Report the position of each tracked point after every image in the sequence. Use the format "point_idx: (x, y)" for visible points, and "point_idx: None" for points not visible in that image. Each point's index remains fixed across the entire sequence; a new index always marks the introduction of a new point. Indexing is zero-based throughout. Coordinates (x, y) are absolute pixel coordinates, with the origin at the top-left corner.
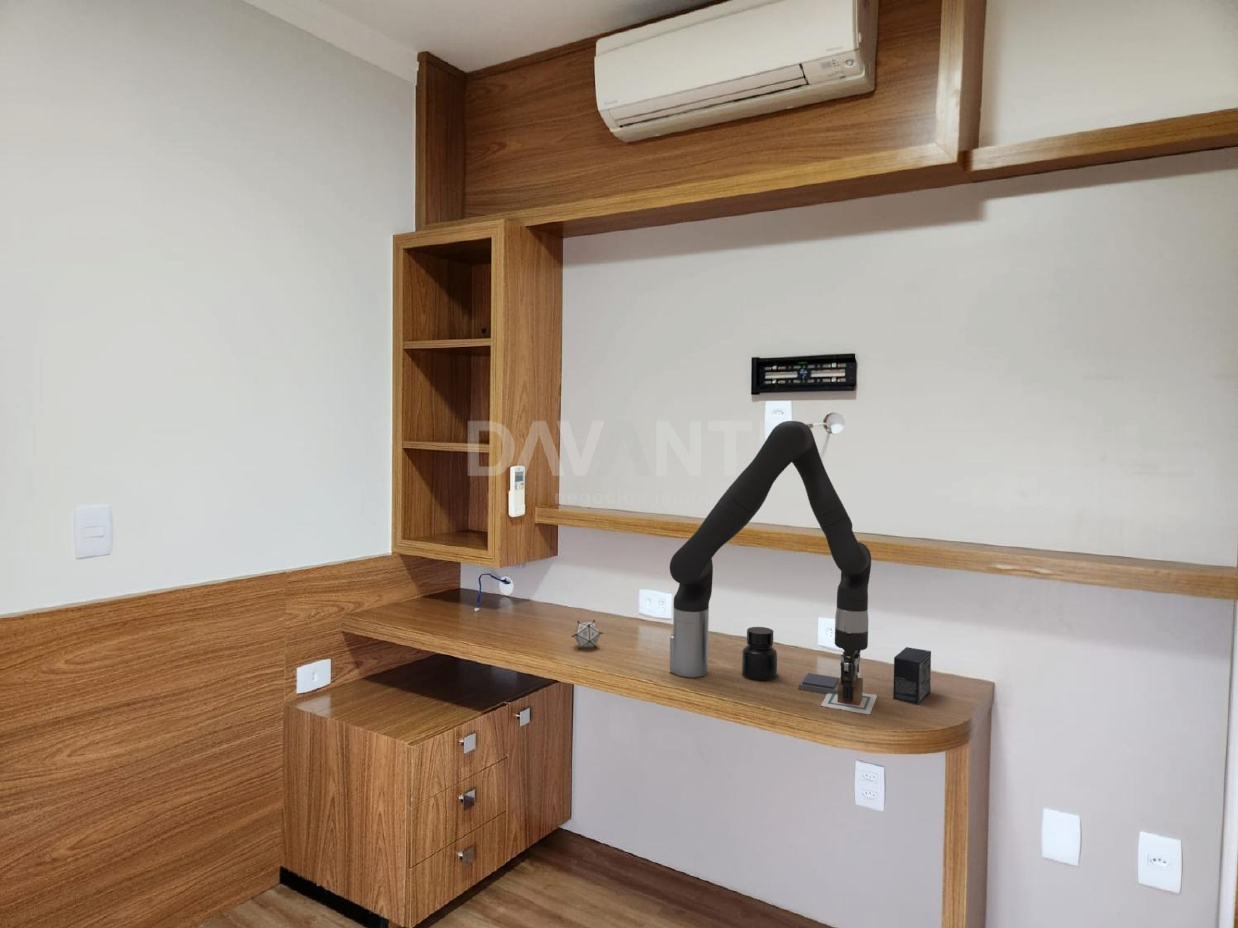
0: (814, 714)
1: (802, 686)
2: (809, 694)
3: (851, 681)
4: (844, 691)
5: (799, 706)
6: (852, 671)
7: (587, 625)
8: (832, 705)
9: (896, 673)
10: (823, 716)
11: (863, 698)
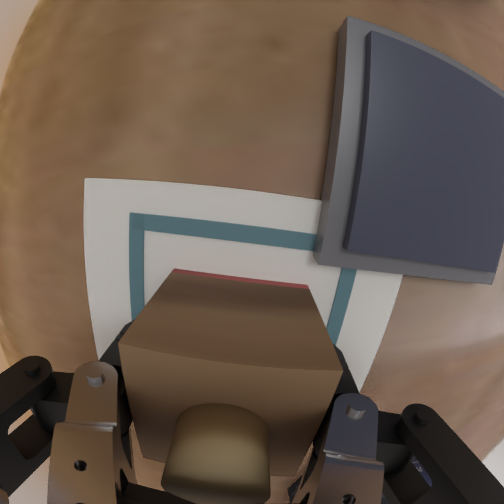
0: (7, 171)
1: (343, 37)
2: (268, 84)
3: (27, 431)
4: (109, 348)
5: (61, 79)
6: (223, 499)
7: None
8: (109, 242)
9: None
10: (4, 211)
11: None
